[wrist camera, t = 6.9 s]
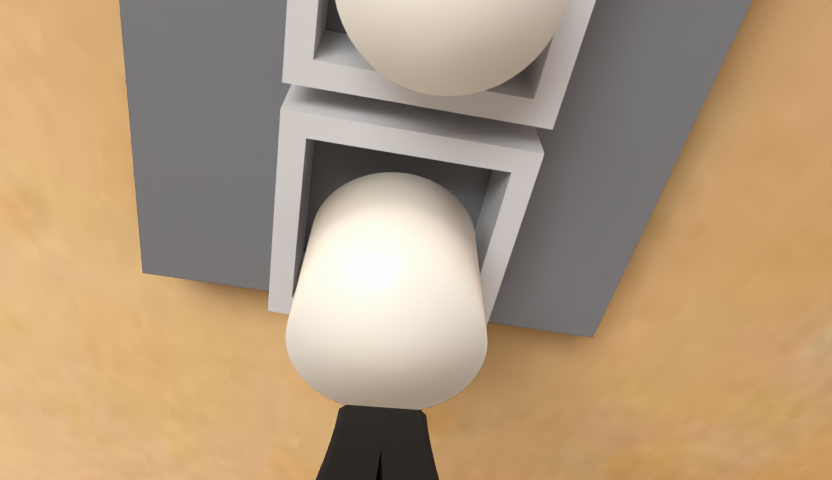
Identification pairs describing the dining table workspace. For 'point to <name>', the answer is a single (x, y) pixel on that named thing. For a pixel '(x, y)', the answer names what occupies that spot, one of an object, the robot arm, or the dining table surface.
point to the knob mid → (450, 40)
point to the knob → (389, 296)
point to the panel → (412, 142)
